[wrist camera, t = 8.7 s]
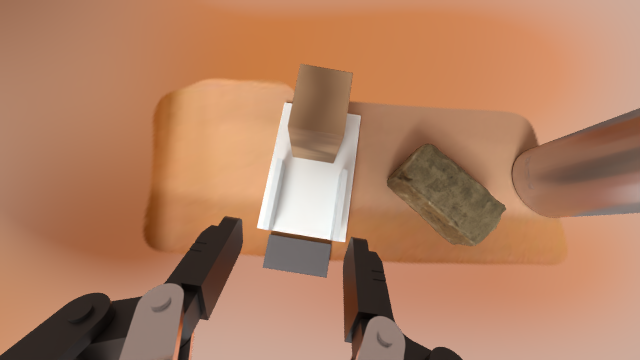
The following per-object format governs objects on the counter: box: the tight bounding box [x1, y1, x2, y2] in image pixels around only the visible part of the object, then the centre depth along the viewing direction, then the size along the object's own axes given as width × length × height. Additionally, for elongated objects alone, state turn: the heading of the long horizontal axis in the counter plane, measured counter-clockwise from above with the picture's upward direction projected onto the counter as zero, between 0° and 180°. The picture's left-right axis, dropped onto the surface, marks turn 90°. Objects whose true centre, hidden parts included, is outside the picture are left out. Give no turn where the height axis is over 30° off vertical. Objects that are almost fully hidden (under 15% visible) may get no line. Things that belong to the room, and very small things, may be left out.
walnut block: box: [288, 64, 353, 164], centre depth 24 cm, size 5×6×8 cm
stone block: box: [387, 144, 506, 246], centre depth 26 cm, size 6×12×5 cm, turn 47°
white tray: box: [257, 102, 361, 278], centre depth 25 cm, size 10×20×4 cm, turn 171°
